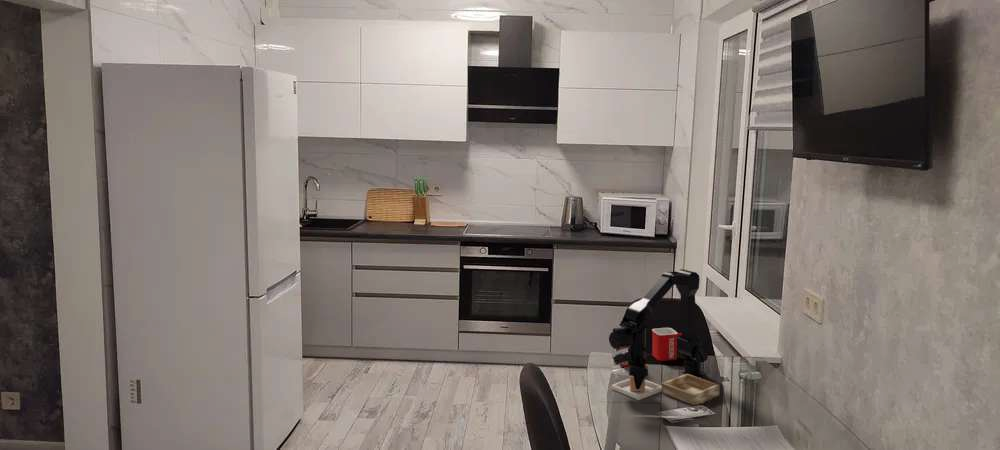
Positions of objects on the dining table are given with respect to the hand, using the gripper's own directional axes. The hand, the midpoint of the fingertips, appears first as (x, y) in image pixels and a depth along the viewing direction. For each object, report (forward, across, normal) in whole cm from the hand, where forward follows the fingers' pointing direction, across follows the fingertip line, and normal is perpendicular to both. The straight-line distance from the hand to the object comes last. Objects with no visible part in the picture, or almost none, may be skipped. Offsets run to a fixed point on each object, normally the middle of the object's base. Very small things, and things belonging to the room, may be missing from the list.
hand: (637, 385), depth 239 cm
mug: (+2, -35, +14) cm, 38 cm away
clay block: (+1, 0, 0) cm, 1 cm away
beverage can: (+2, -24, -3) cm, 24 cm away
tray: (+2, 0, 0) cm, 2 cm away
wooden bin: (+2, +2, +18) cm, 18 cm away
